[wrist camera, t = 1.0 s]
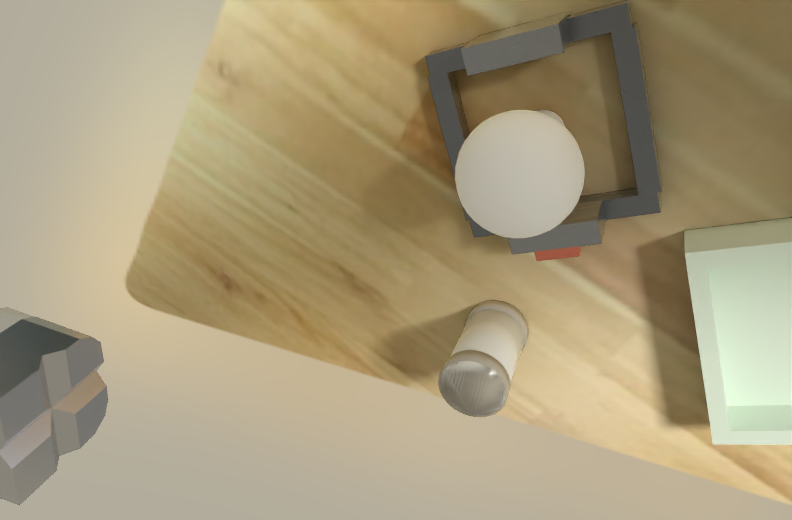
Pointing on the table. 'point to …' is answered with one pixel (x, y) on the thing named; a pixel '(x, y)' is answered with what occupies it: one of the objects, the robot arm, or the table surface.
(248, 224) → the table surface
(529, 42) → the frame
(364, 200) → the table surface
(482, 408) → the fuse
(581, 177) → the lightbulb
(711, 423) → the tray
